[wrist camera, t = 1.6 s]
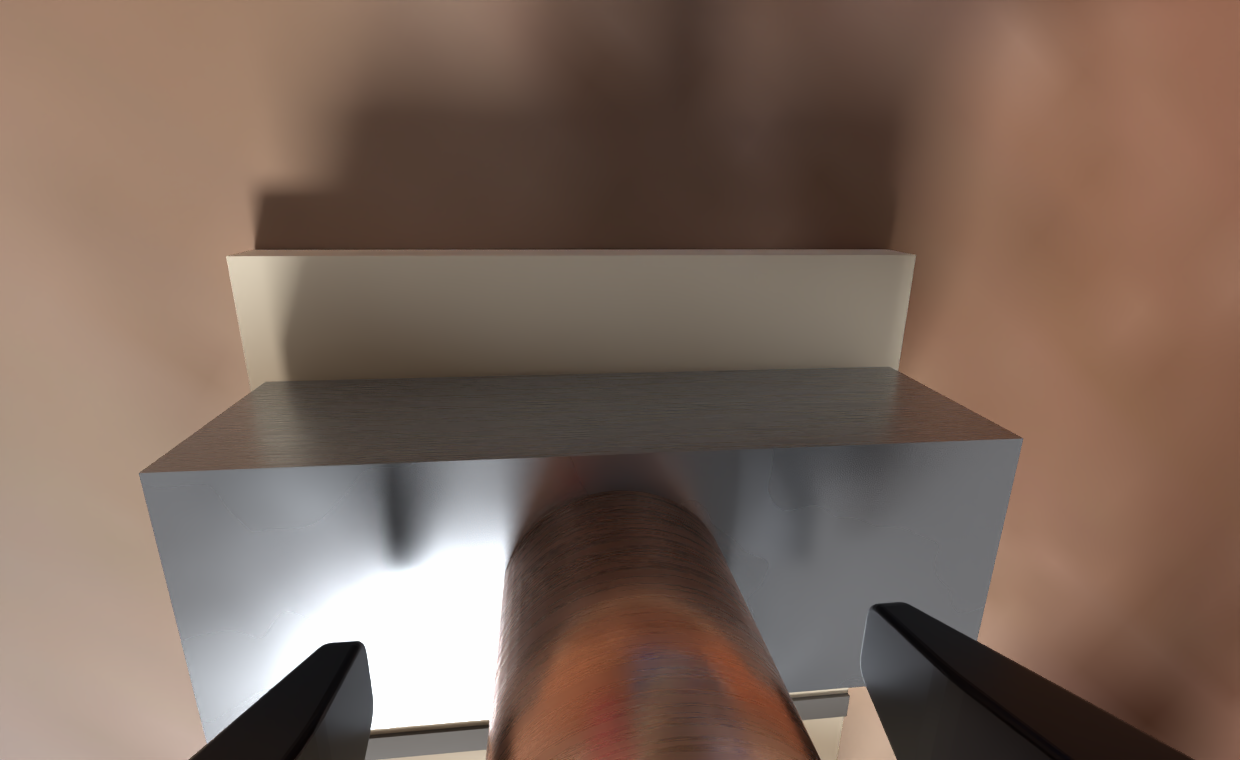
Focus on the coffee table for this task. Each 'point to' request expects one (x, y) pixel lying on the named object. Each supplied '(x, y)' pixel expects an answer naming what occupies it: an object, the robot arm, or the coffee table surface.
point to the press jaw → (578, 547)
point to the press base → (566, 344)
